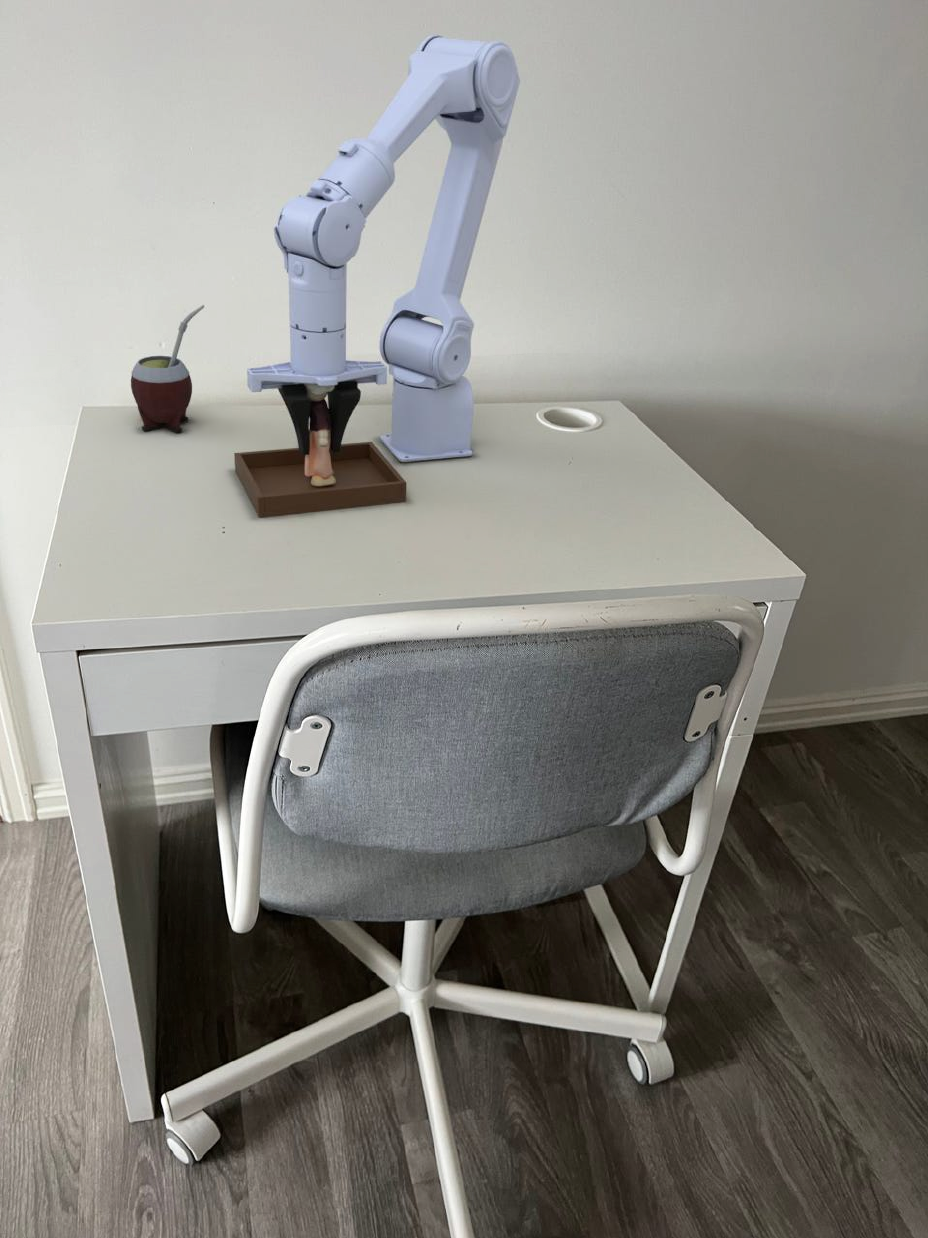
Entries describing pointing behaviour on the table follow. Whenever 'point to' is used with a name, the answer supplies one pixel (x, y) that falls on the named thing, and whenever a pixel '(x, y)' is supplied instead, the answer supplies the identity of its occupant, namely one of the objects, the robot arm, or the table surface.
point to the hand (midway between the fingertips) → (318, 450)
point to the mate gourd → (163, 387)
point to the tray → (288, 490)
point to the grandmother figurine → (319, 437)
